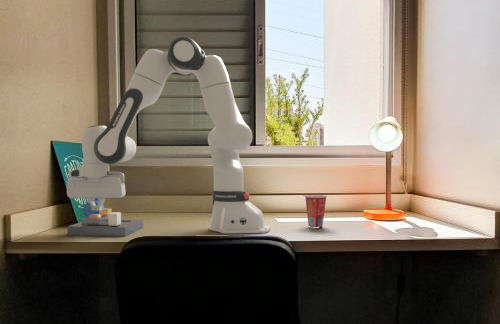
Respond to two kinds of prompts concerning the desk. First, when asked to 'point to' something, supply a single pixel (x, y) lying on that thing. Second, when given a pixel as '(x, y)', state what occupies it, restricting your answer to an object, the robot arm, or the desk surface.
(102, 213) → the brass slider
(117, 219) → the ivory slider
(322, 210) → the cup
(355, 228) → the desk surface
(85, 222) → the console
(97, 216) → the push button
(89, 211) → the perfume bottle
